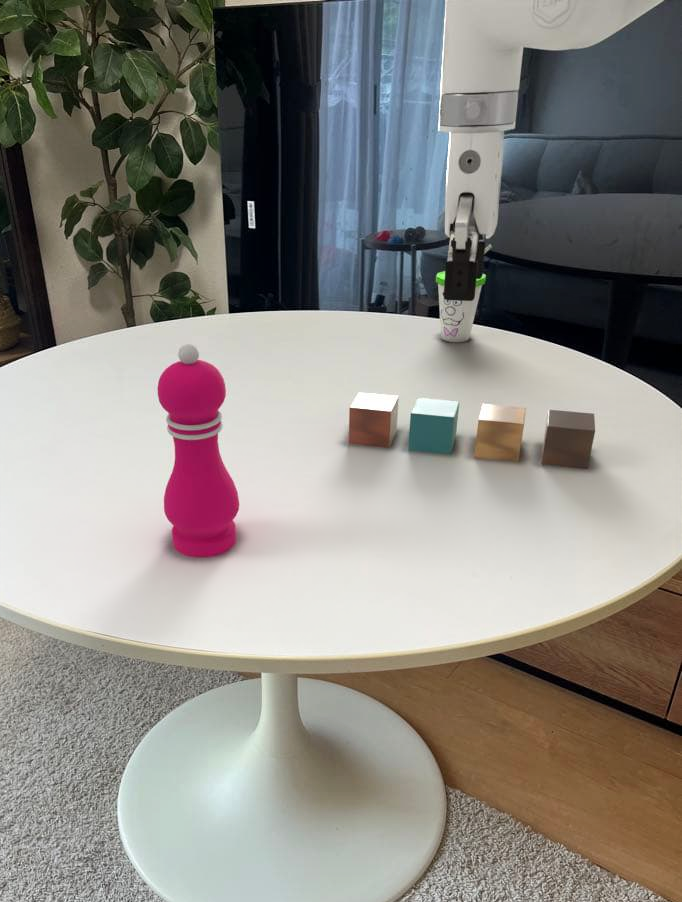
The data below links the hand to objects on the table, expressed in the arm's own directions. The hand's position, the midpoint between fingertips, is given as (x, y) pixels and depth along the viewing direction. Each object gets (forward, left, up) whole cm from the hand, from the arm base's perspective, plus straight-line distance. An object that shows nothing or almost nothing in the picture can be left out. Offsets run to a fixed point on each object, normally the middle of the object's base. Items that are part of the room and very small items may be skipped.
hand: (463, 288), depth 87 cm
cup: (+4, -40, -18) cm, 44 cm away
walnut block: (-13, +2, -18) cm, 23 cm away
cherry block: (+9, +2, -18) cm, 21 cm away
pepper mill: (+20, +30, -18) cm, 41 cm away
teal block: (+2, +2, -18) cm, 18 cm away
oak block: (-6, +2, -18) cm, 19 cm away
